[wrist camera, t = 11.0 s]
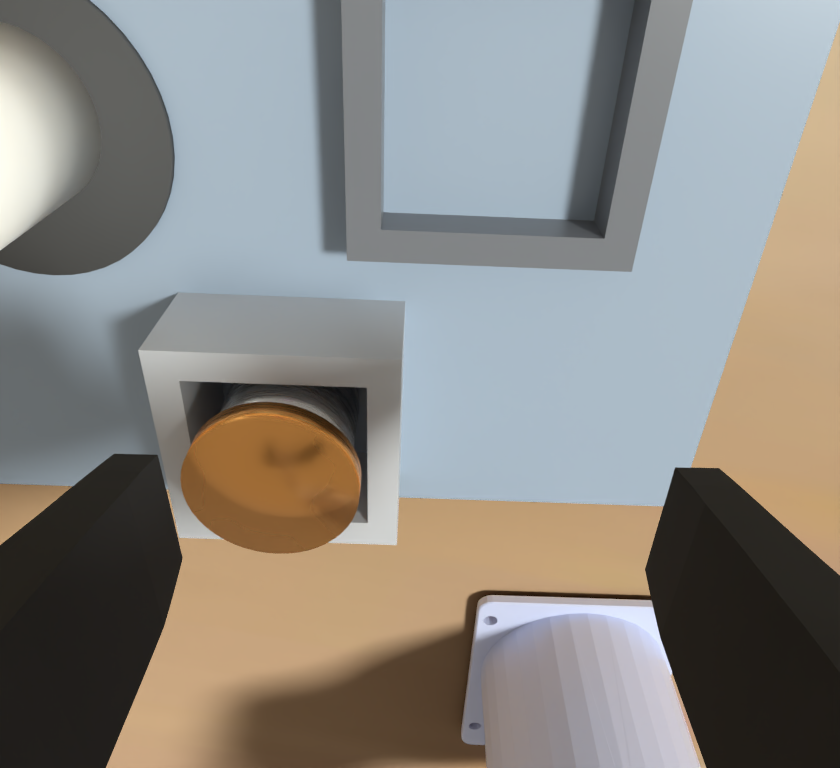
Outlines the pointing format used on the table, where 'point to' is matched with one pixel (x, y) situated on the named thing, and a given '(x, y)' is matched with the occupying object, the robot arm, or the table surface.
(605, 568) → the table surface
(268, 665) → the table surface
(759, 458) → the table surface
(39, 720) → the robot arm
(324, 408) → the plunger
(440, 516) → the table surface
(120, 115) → the rubber pad
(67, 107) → the cartridge
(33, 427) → the panel
